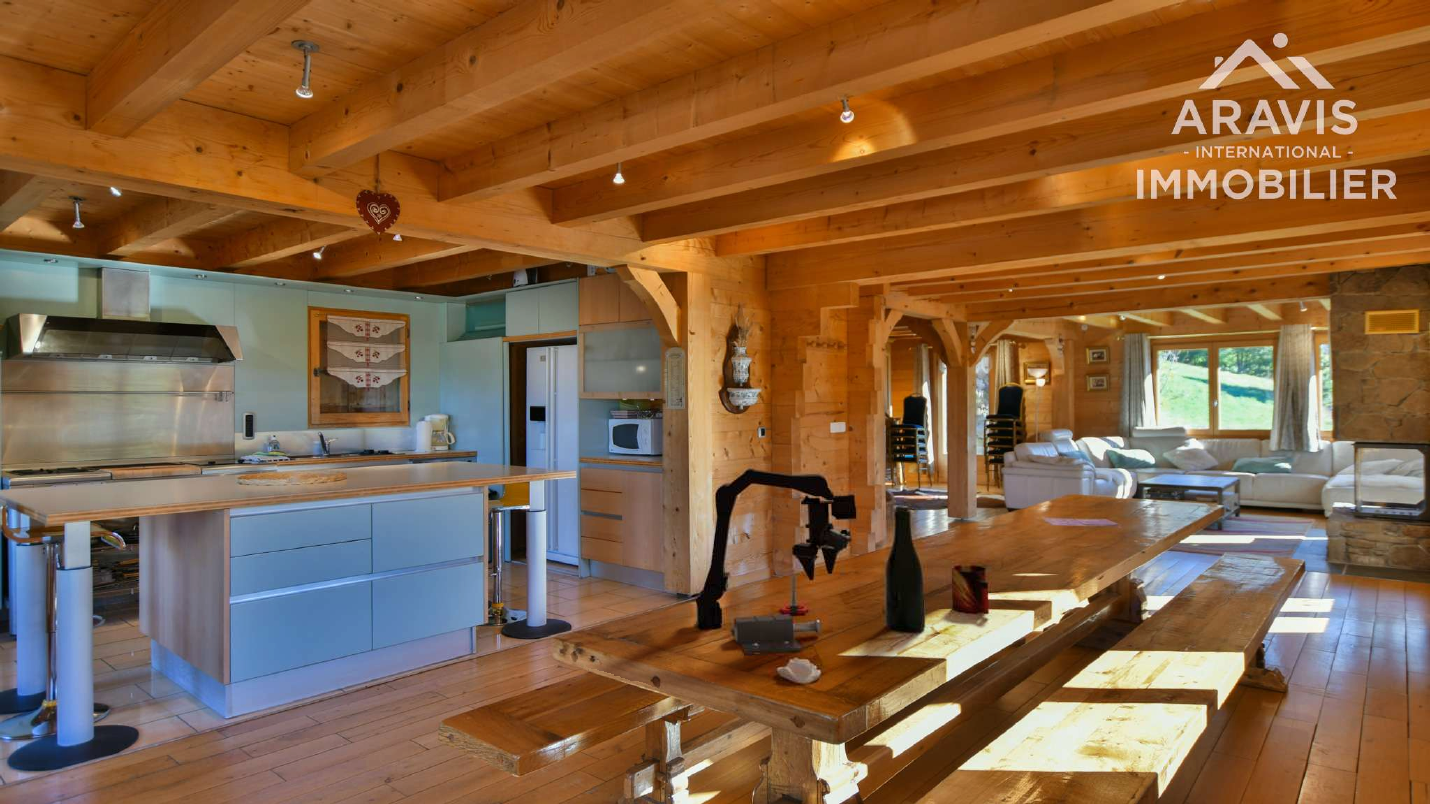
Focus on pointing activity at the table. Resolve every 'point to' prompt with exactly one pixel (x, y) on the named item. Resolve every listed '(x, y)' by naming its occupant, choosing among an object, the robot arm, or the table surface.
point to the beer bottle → (904, 579)
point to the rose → (799, 671)
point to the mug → (969, 589)
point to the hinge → (765, 634)
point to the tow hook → (794, 601)
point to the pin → (807, 627)
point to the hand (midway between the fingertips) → (820, 576)
